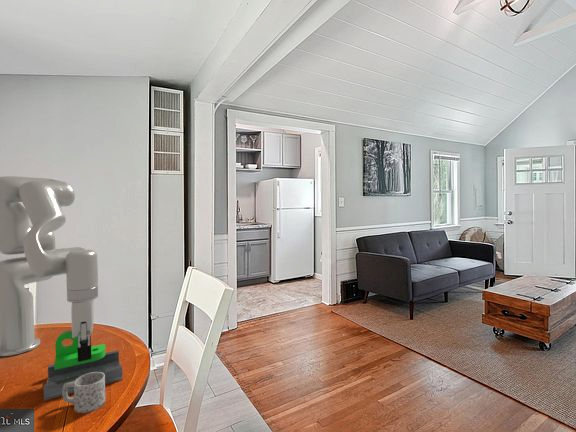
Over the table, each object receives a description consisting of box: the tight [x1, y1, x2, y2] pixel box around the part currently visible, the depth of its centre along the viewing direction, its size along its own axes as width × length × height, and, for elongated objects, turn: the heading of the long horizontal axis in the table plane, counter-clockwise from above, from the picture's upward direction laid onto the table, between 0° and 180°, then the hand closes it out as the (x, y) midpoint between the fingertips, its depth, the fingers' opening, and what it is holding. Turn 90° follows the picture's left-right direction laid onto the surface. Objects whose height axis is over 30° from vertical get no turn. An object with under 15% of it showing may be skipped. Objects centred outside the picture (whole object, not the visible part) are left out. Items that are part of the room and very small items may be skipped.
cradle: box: [43, 349, 124, 401], centre depth 92 cm, size 13×18×4 cm
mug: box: [61, 372, 106, 414], centre depth 80 cm, size 10×7×7 cm, turn 92°
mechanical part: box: [53, 330, 106, 370], centre depth 91 cm, size 12×6×8 cm, turn 122°
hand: (84, 354), depth 92 cm, fingers closed on mechanical part, 6 cm apart
